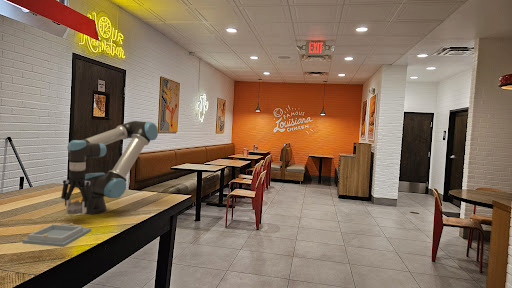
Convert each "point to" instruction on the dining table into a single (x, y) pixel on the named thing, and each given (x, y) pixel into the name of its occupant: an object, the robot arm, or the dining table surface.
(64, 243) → the bracket board
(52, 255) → the dining table surface
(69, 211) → the stone
